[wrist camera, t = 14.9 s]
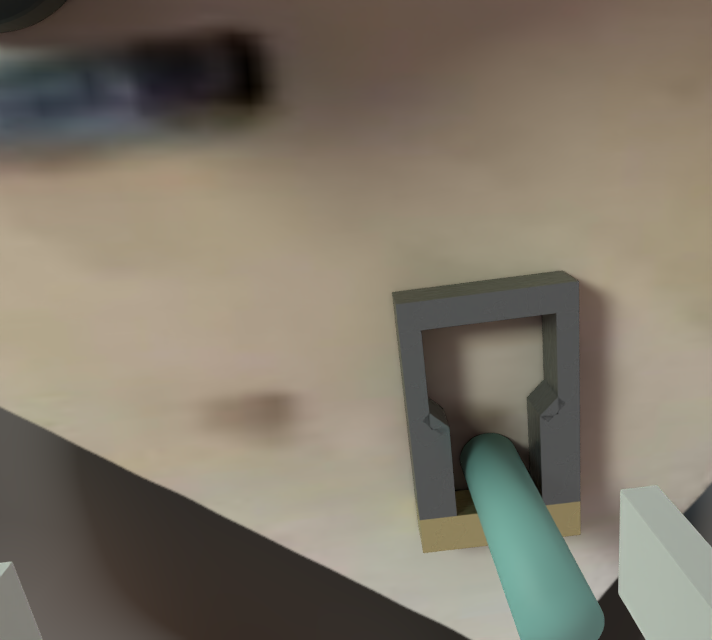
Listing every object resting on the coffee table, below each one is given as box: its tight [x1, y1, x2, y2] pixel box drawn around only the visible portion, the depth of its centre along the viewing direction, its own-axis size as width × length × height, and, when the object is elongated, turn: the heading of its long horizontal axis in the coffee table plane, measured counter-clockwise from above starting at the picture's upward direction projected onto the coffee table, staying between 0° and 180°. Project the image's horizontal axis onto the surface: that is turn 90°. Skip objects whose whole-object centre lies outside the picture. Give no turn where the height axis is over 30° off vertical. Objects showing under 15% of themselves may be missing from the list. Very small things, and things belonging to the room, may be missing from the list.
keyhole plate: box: [392, 271, 581, 553], centre depth 42 cm, size 20×12×3 cm, turn 7°
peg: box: [460, 433, 604, 640], centre depth 37 cm, size 4×4×16 cm
